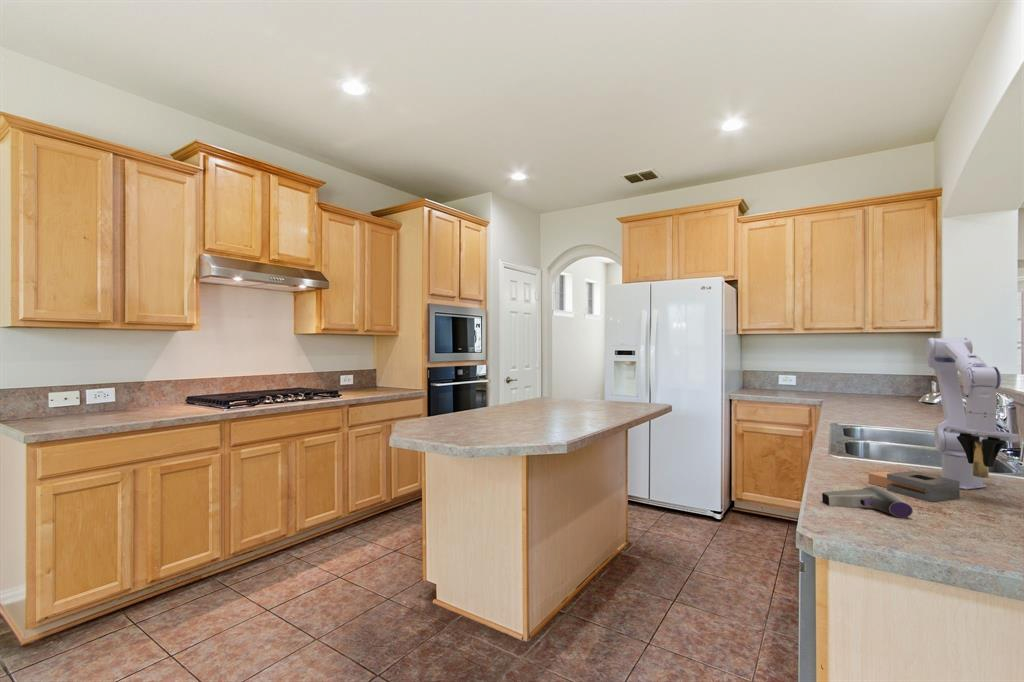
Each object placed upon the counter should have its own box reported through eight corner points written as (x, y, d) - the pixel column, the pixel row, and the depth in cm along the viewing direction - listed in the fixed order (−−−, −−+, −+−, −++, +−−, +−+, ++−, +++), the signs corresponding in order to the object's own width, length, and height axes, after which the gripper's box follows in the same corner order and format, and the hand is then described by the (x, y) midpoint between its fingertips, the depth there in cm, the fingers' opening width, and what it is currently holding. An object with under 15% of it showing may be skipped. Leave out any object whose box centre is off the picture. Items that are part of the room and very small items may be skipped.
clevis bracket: (913, 486, 140) (914, 470, 140) (959, 498, 129) (959, 481, 129) (886, 489, 136) (886, 473, 136) (931, 502, 126) (931, 484, 126)
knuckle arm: (885, 481, 145) (885, 471, 145) (946, 496, 131) (946, 485, 131) (868, 483, 143) (868, 473, 143) (928, 499, 128) (928, 488, 128)
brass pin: (977, 474, 129) (977, 440, 130) (991, 477, 127) (991, 442, 127) (969, 475, 129) (970, 441, 129) (984, 478, 126) (984, 443, 126)
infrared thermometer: (820, 505, 127) (881, 503, 125) (848, 522, 115) (916, 520, 113) (819, 487, 127) (880, 485, 125) (846, 502, 115) (915, 500, 113)
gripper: (938, 409, 133) (938, 459, 133) (1006, 417, 120) (1006, 473, 119) (955, 408, 135) (955, 457, 135) (1024, 416, 122) (1024, 470, 122)
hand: (980, 464), depth 128 cm, fingers closed on brass pin, 3 cm apart
